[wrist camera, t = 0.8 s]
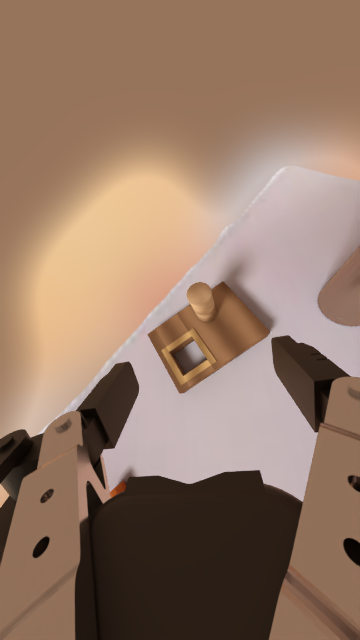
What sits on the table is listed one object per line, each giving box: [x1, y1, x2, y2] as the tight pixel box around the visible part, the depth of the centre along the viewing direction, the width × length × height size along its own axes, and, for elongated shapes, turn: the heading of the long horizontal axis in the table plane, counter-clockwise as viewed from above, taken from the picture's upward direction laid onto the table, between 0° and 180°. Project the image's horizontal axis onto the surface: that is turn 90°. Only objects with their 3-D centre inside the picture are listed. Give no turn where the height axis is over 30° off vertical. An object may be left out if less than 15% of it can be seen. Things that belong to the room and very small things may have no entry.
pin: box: [187, 282, 217, 323], centre depth 34 cm, size 4×4×9 cm
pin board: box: [148, 282, 270, 393], centre depth 38 cm, size 20×14×3 cm
